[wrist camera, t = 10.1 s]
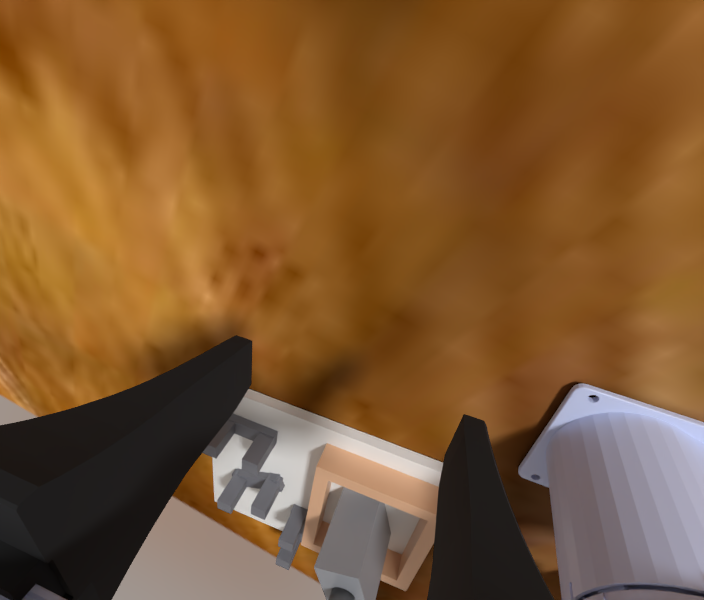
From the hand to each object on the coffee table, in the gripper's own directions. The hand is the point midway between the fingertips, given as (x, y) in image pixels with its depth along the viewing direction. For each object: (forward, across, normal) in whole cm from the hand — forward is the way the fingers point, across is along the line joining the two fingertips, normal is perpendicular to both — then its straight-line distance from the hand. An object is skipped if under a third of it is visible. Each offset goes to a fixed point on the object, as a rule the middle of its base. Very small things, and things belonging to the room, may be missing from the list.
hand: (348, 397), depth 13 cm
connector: (+9, -2, +20) cm, 22 cm away
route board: (+9, +2, +21) cm, 23 cm away
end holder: (+9, -2, +20) cm, 22 cm away
